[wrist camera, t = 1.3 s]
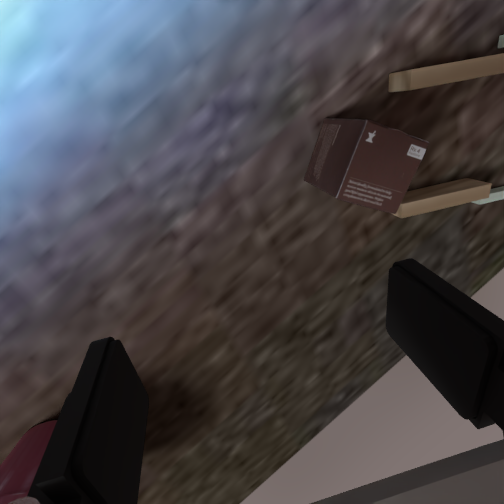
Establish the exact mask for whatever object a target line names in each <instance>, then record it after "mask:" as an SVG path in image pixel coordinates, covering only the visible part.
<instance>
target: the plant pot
mask: <svg viewBox="0 0 504 504" xmlns="http://www.w3.org/2000/svg"><path fill="white" fill-rule="evenodd" d="M56 422H57V420H53V421H48V422H45V423H41V424H39V425H36V426H34V427H33V428H31V429H30V430H28V431H27V432H26V433H25V434H24V435H23V436H22V438H21V439H20V441H19V442H18V443H17V445H16V446H15V447H14V449H13V450H12V451H11V453H10V454H9V455H8V456H7V458H6V459H5V460H4V461H3V463H2V464H1V465H0V504H8V503H10V502H12V501H14V500H16V499H18V498H23V497H27V494H28V492H29V490H30V487H31V485H32V482H33V480H34V477H35V475H36V472H37V470H38V467H39V465H40V462H41V460H42V457H43V455H44V452H45V450H46V447H47V445H48V442H49V440H50V437H51V435H52V432H53V430H54V427H55V425H56Z"/></svg>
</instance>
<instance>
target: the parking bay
mask: <svg viewBox="0 0 504 504" xmlns="http://www.w3.org/2000/svg"><path fill="white" fill-rule="evenodd" d="M503 47H504V35H500V37H499V43H498V48H503ZM498 48H497V49H498ZM501 199H504V186H502V187H498V188H493V189H490V194H489V198H485V199H481V200H477V201H473V203H476V204H479V205H480V204H484V203H489V202H493V201H497V200H501Z"/></svg>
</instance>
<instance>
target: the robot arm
mask: <svg viewBox="0 0 504 504" xmlns="http://www.w3.org/2000/svg"><path fill="white" fill-rule="evenodd" d="M386 329H387V332H388V334H389V335H390V336H391V337H392V339H393V340H394V341H395V342H396V343H397V344H398V345H399V347H400V348H401V349H402V350H403V351H404V352H405V353H406V355H407V356H408V357H409V358H410V359H411V360H412V361H413V362H414V364H415V365H416V366H417V367H418V368H419V369H420V370H421V372H422V373H423V374H424V375H425V376H426V377H427V378H428V379H429V381H430V382H431V383H432V384H433V385H434V386H435V387H436V389H437V390H438V391H439V392H440V393H441V394H442V395H443V396H444V398H445V399H446V400H447V401H448V402H449V403H450V404H451V406H452V407H453V408H454V409H455V410H456V411H457V412H458V414H459V415H460V416H462V417H463V418H464V419H469V420H470V421H471V422H472V423H473V425H474V426H475V427H476V428H477V429H480V428H484V427H486V426H489V425H492V424H494V423H496V424H497V425H498V426H499V427H500V428H501V429H502V430H503V436H504V321H503V320H502V319H500V318H498V316H496V315H494V314H493V313H492V312H490V311H489V310H487V309H486V308H484V307H483V306H481V305H480V304H479V303H477V302H476V301H474V300H473V299H471V298H470V297H468V296H467V295H465V294H464V293H462V292H461V291H460V290H458V289H457V288H455V287H454V286H452V285H451V284H449V283H448V282H446V281H445V280H443V279H442V278H441V277H439V276H438V275H436V274H435V273H433V272H432V271H430V270H429V269H427V268H426V267H424V266H423V265H422V264H420V263H419V262H417V261H416V260H414V259H406V260H402V261H398V262H395V263H394V264H393V266H392V268H390V269H389V279H388V296H387V313H386ZM148 408H149V398H148V394H147V392H146V390H145V388H144V386H143V384H142V382H141V380H140V378H139V376H138V374H137V372H136V370H135V368H134V366H133V364H132V362H131V360H130V358H129V357H128V355H127V353H126V351H125V349H124V347H123V345H122V343H121V341H120V340H114V338H112V337H108V338H104V339H101V340H97V341H93V342H92V343H91V344H90V346H89V349H88V351H87V354H86V356H85V359H84V361H83V364H82V366H81V369H80V372H79V374H78V377H77V379H76V382H75V384H74V387H73V389H72V392H71V393H70V394H69V395H68V396H67V398H66V400H65V402H64V405H63V407H62V410H61V412H60V415H59V417H58V420H57V422H56V425H55V427H54V430H53V432H52V435H51V437H50V440H49V442H48V445H47V447H46V450H45V452H44V455H43V457H42V460H41V462H40V465H39V467H38V470H37V472H36V475H35V477H34V480H33V482H32V485H31V487H30V490H29V492H28V494H27V497H23V498H18V499H16V500H14V501H12V502H10V503H8V504H137V500H138V491H139V483H140V475H141V466H142V458H143V449H144V441H145V433H146V424H147V416H148ZM311 504H504V439H503V440H500V441H497V442H494V443H490V444H487V445H484V446H481V447H478V448H475V449H472V450H469V451H466V452H463V453H460V454H457V455H454V456H451V457H448V458H445V459H442V460H439V461H436V462H433V463H430V464H427V465H424V466H421V467H418V468H415V469H412V470H409V471H406V472H403V473H400V474H397V475H394V476H391V477H388V478H385V479H382V480H379V481H376V482H373V483H370V484H367V485H364V486H361V487H358V488H355V489H352V490H349V491H346V492H343V493H340V494H337V495H334V496H331V497H329V498H325V499H323V500H320V501H317V502H314V503H311Z"/></svg>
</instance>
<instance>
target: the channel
mask: <svg viewBox="0 0 504 504" xmlns="http://www.w3.org/2000/svg"><path fill="white" fill-rule="evenodd" d="M500 73H504V53H502V54H497V55H491V56H485V57H480V58H474V59H468V60H463V61H457V62H452V63H446V64H440V65H435V66H429V67H423V68H418V69H412V70H407V71H402V72H396V73H391V74H389V92H398V91H408V90H414V89H420V88H425V87H430V86H436V85H441V84H447V83H452V82H457V81H463V80H468V79H474V78H479V77H484V76H490V75H495V74H500ZM490 189H491V183H487V182H483V181H478V180H474V179H470V178H464V179H460V180H455V181H451V182H447V183H442V184H438V185H433V186H429V187H425V188H420V189H416V190H411V191H407V192H406V194H405V196H404V198H403V200H402V202H401V204H400V207H399V209H398V211H397V213H396V214H393V215H396V216H398V217H400V218H405V217H409V216H413V215H418V214H422V213H426V212H430V211H435V210H439V209H443V208H447V207H452V206H456V205H460V204H464V203H468V202H473V201H477V200H481V199H485V198H489V194H490ZM391 214H392V213H391Z"/></svg>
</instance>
